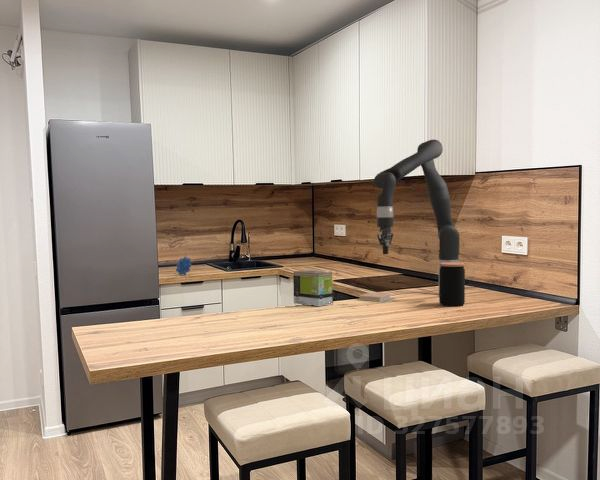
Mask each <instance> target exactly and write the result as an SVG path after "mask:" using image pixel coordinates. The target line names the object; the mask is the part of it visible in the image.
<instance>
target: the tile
mask: <svg viewBox="0 0 600 480" xmlns="http://www.w3.org/2000/svg"><path fill="white" fill-rule="evenodd" d="M390 295H391V294H389V293H379V292H378V293H377V292H367V293H363V294H361V295H359V299H360V300H365V301H364V302H371V301H376V302H375V303H382V302H381V301H384V300H388V299H390V298H391V296H390ZM360 300H359V301H360Z"/></svg>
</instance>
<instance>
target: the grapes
mask: <svg viewBox="0 0 600 480" xmlns="http://www.w3.org/2000/svg"><path fill="white" fill-rule="evenodd" d="M192 266H193V265H192V263H191V259H190V258H188V257H187V256H184V257H183V258H182V257H181V258H180V259H178V262H176V266H175V267H176V269H175V270H176V272H177V274H178V275H179V274H182V275H183V274H185V275H187V273H189V272H190V271H191V267H192Z"/></svg>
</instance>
